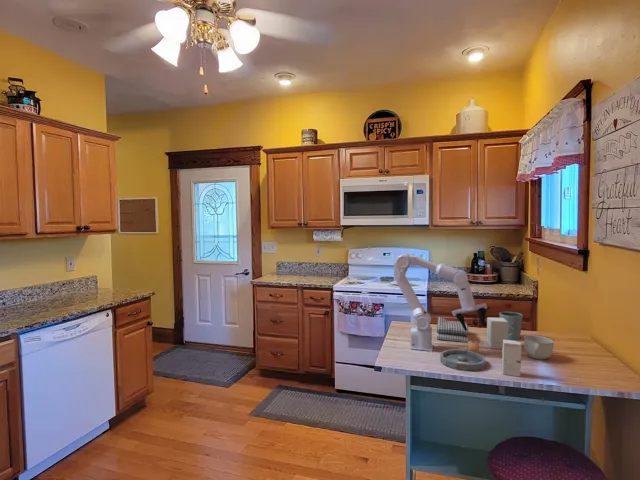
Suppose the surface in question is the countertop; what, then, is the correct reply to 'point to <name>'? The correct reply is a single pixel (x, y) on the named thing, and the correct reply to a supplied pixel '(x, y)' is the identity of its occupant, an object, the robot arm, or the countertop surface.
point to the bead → (473, 346)
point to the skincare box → (511, 357)
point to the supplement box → (496, 332)
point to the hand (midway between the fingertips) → (474, 328)
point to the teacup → (538, 346)
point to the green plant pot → (513, 324)
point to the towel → (451, 330)
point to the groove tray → (462, 360)
